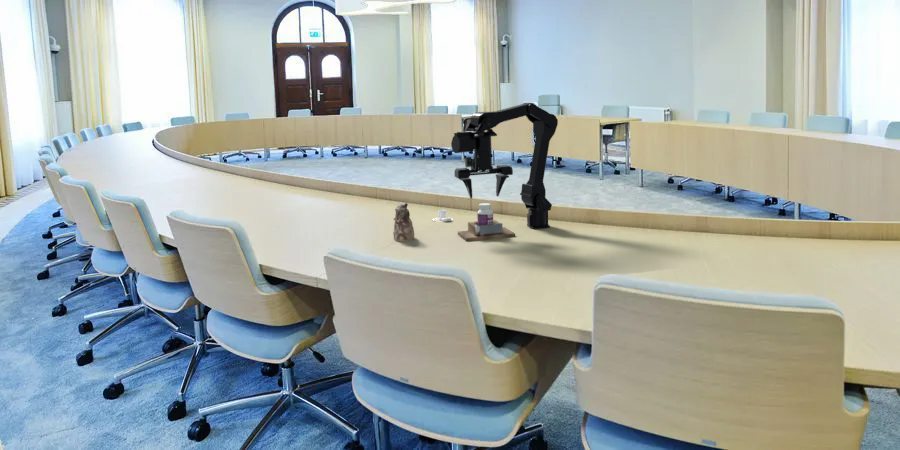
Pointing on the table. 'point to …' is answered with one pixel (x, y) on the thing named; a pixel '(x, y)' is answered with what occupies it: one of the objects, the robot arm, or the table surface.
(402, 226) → the figurine
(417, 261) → the table surface
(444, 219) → the teacup and saucer
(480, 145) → the robot arm
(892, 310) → the table surface
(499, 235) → the cradle board
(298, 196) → the table surface
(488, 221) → the pill bottle
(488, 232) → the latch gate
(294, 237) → the table surface
